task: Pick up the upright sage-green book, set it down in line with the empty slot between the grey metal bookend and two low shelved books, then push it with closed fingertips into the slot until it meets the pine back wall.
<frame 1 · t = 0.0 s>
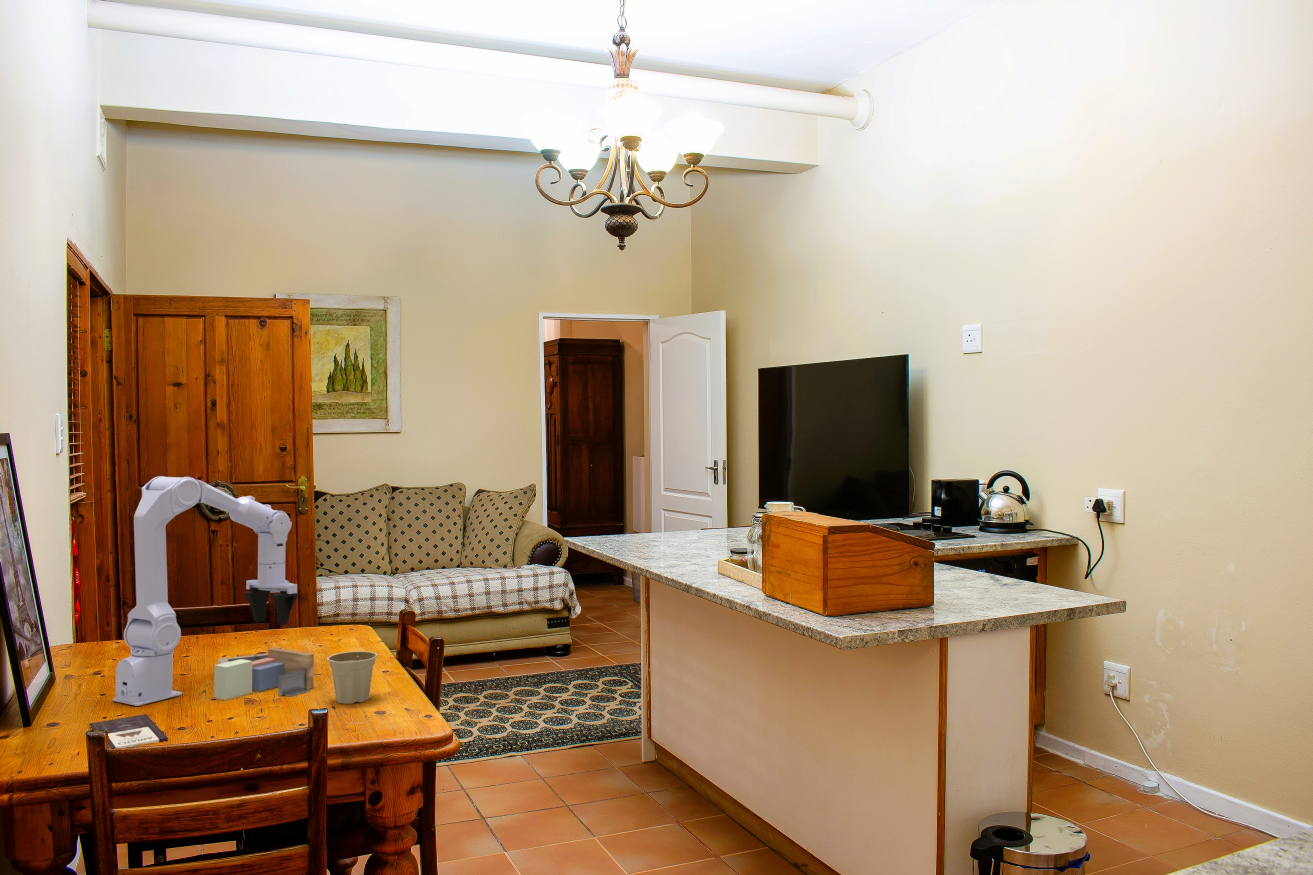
hand: (271, 623, 205), 10 cm above the table, tool pointing down, fingers open, 7 cm apart
book: (233, 695, 183), on the table
picture frame: (263, 673, 203), on the table
shelved books: (263, 686, 189), on the table
bookend: (292, 691, 185), on the table
flower pot: (352, 700, 180), on the table
chocolate bar: (127, 736, 158), on the table
shelf wall: (290, 684, 191), on the table
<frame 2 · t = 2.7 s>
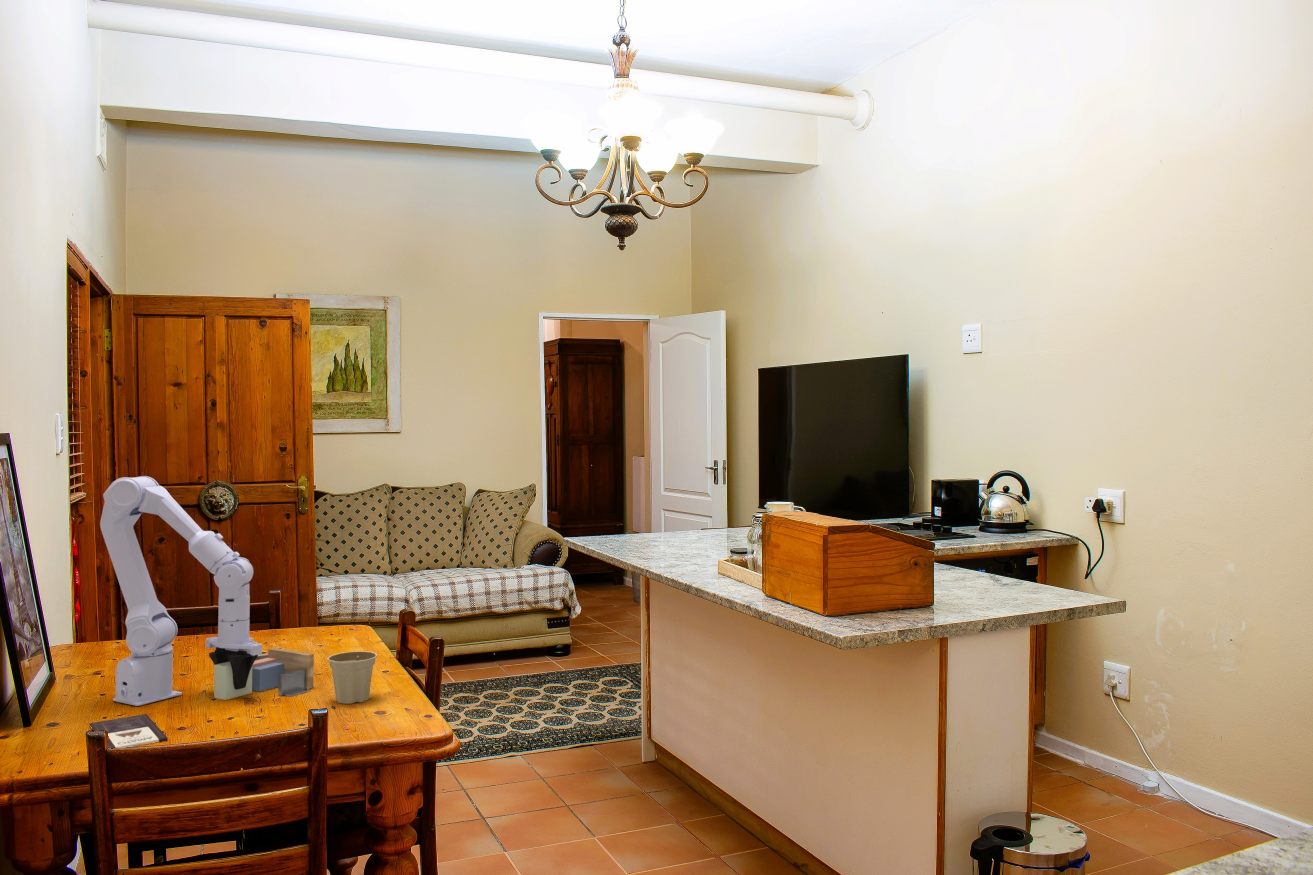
hand: (233, 686, 183), 2 cm above the table, tool pointing down, fingers closed on book, 3 cm apart
book: (233, 695, 183), on the table, touching gripper
everything else where it was.
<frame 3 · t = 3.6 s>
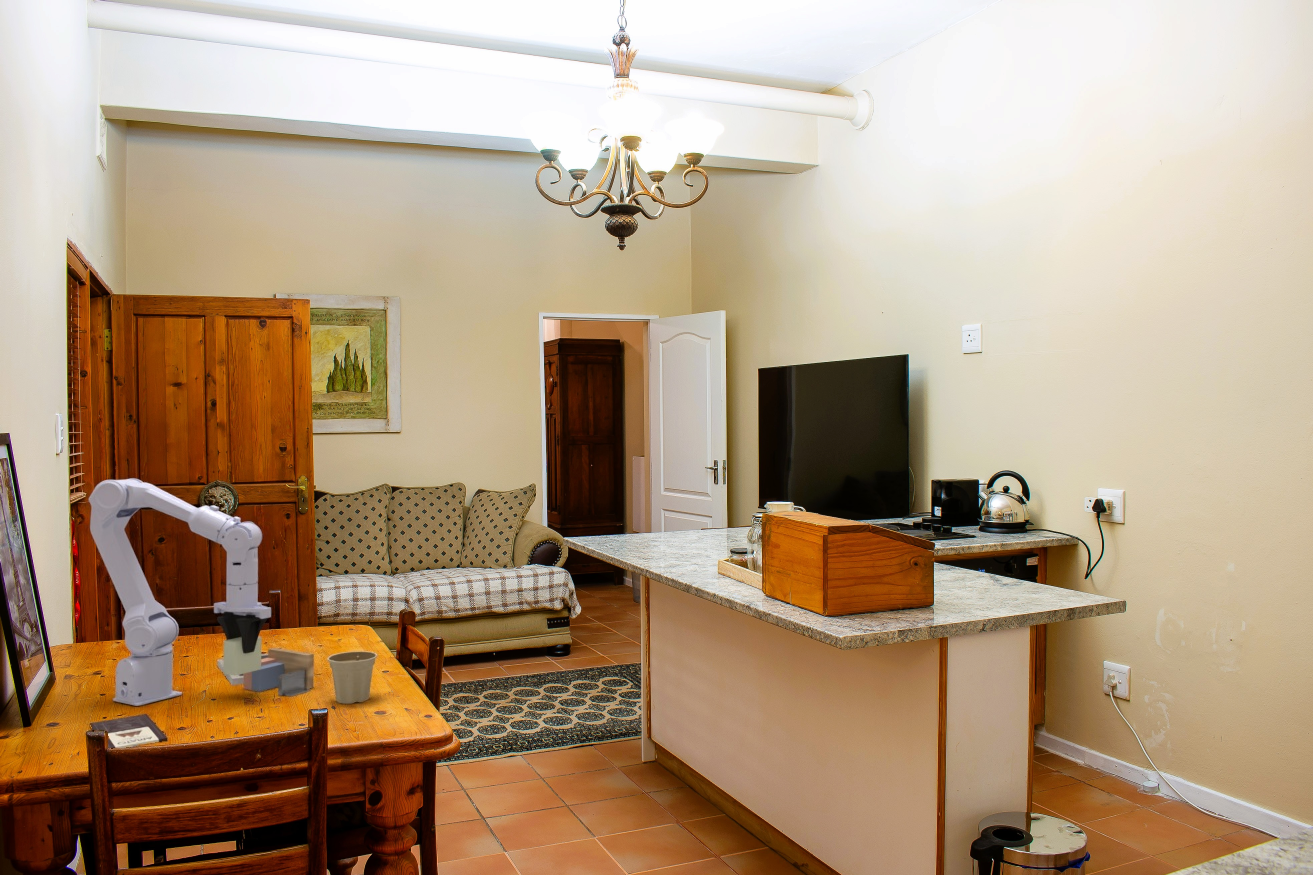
hand: (241, 651, 182), 9 cm above the table, tool pointing down, fingers closed on book, 3 cm apart
book: (242, 671, 182), point 5 cm above the table, touching gripper
everything else where it was.
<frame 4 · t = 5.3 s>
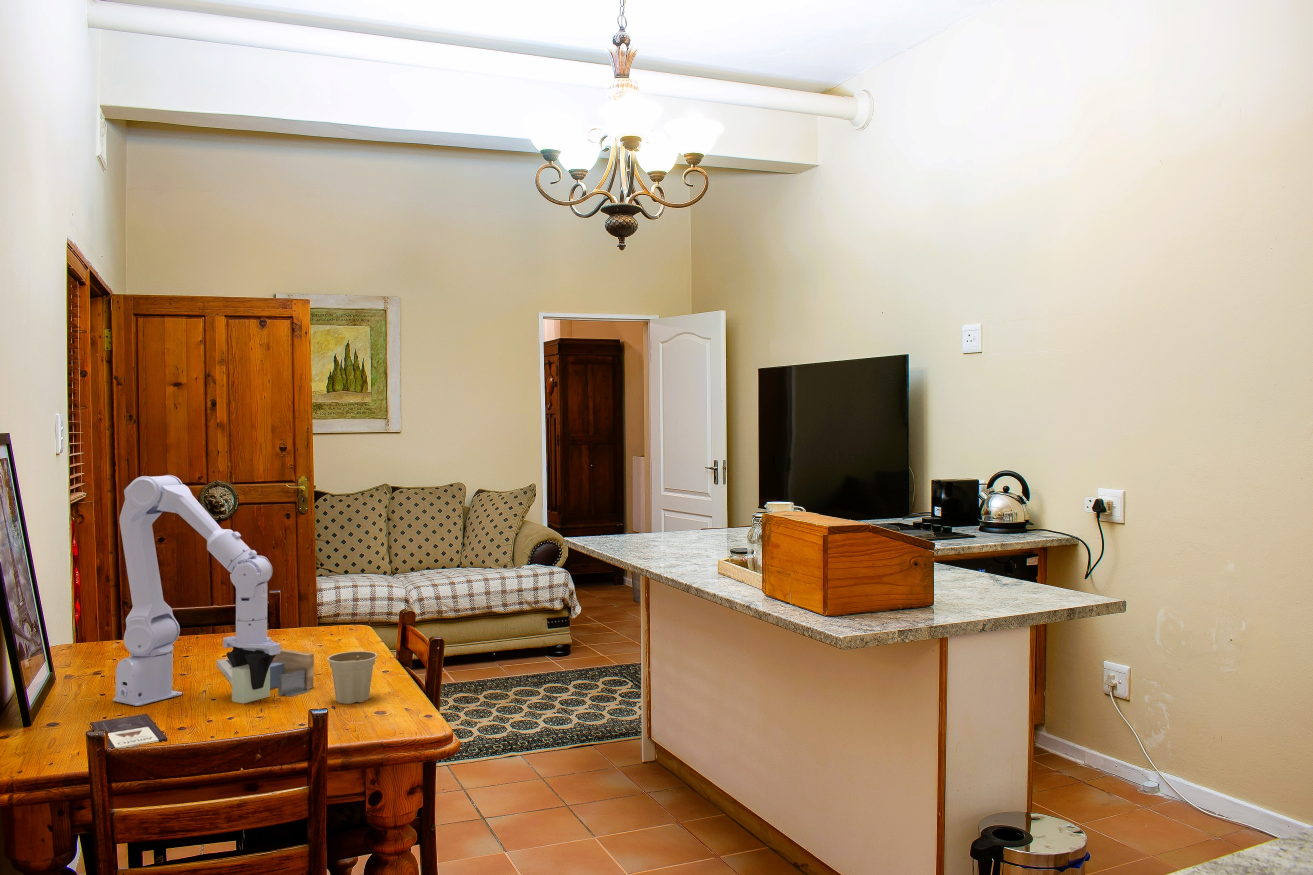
hand: (251, 687, 180), 2 cm above the table, tool pointing down, fingers closed on book, 3 cm apart
book: (251, 698, 180), on the table, touching gripper
everything else where it was.
when the fingers open (2 cm above the table, at t = 5.4 s): book stays where it is, on the table.
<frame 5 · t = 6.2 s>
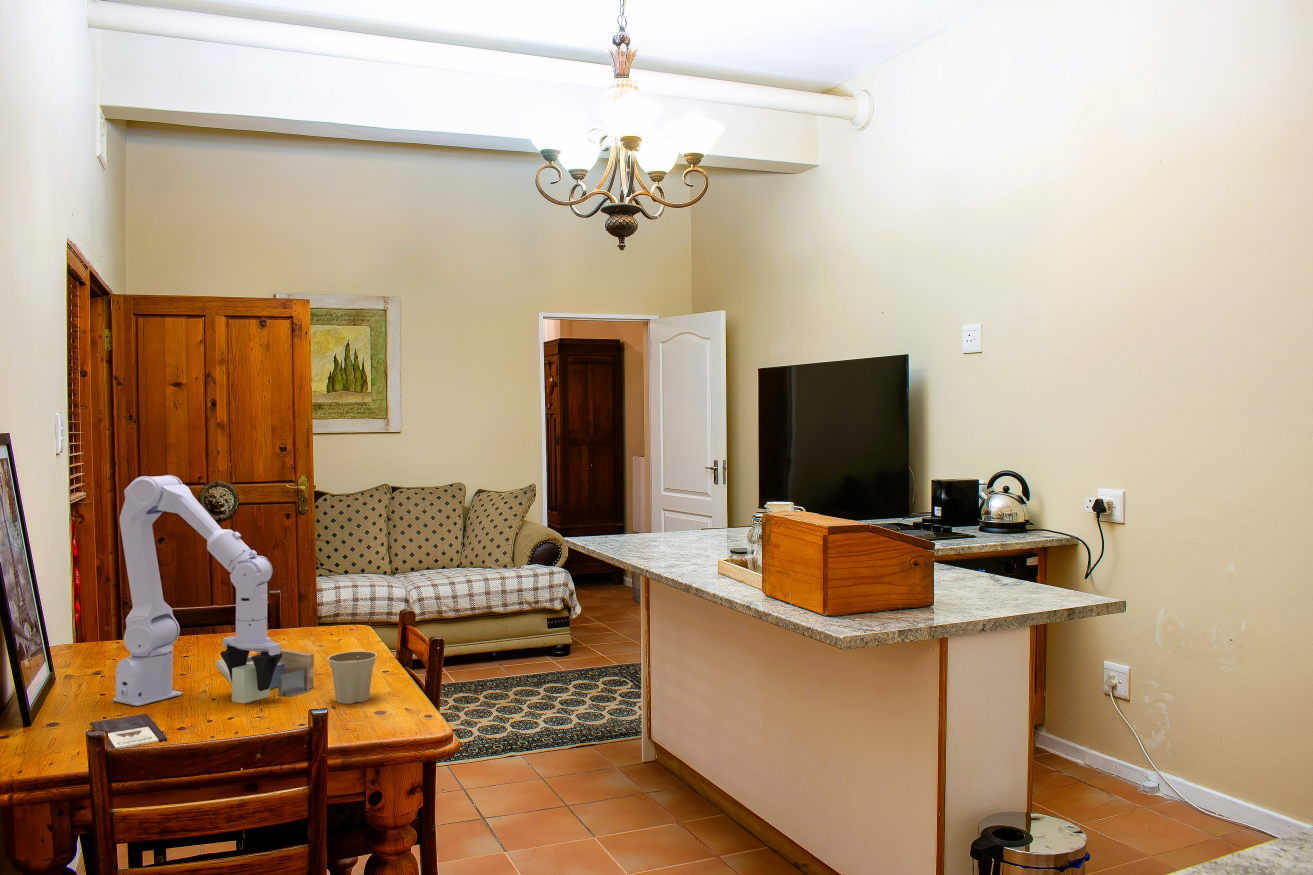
hand: (250, 687, 180), 2 cm above the table, tool pointing down, fingers open, 7 cm apart
book: (251, 698, 180), on the table
everything else where it was.
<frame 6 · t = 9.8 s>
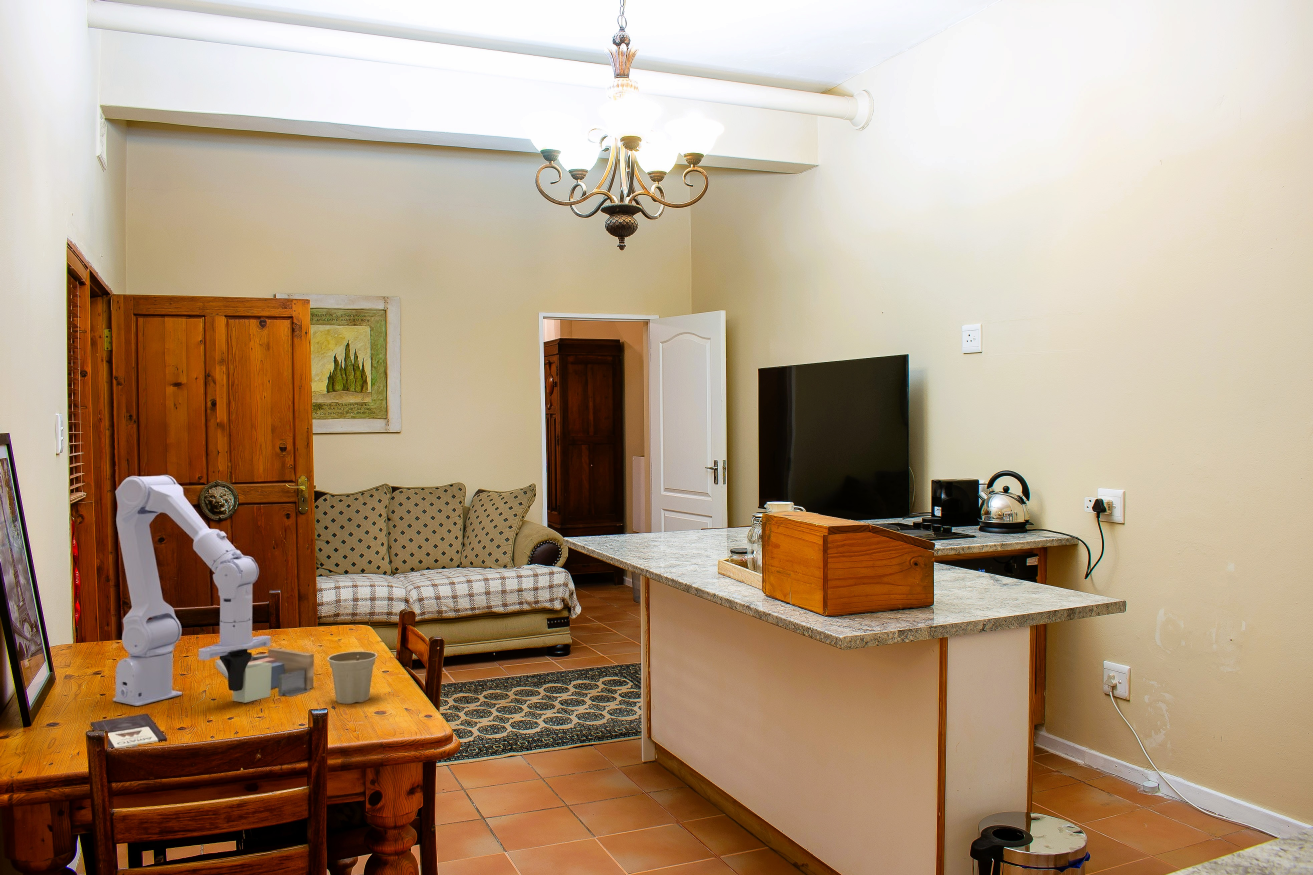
hand: (235, 689, 177), 3 cm above the table, tool pointing down, fingers closed, pressing on book
book: (251, 698, 180), on the table, touching gripper
everything else where it was.
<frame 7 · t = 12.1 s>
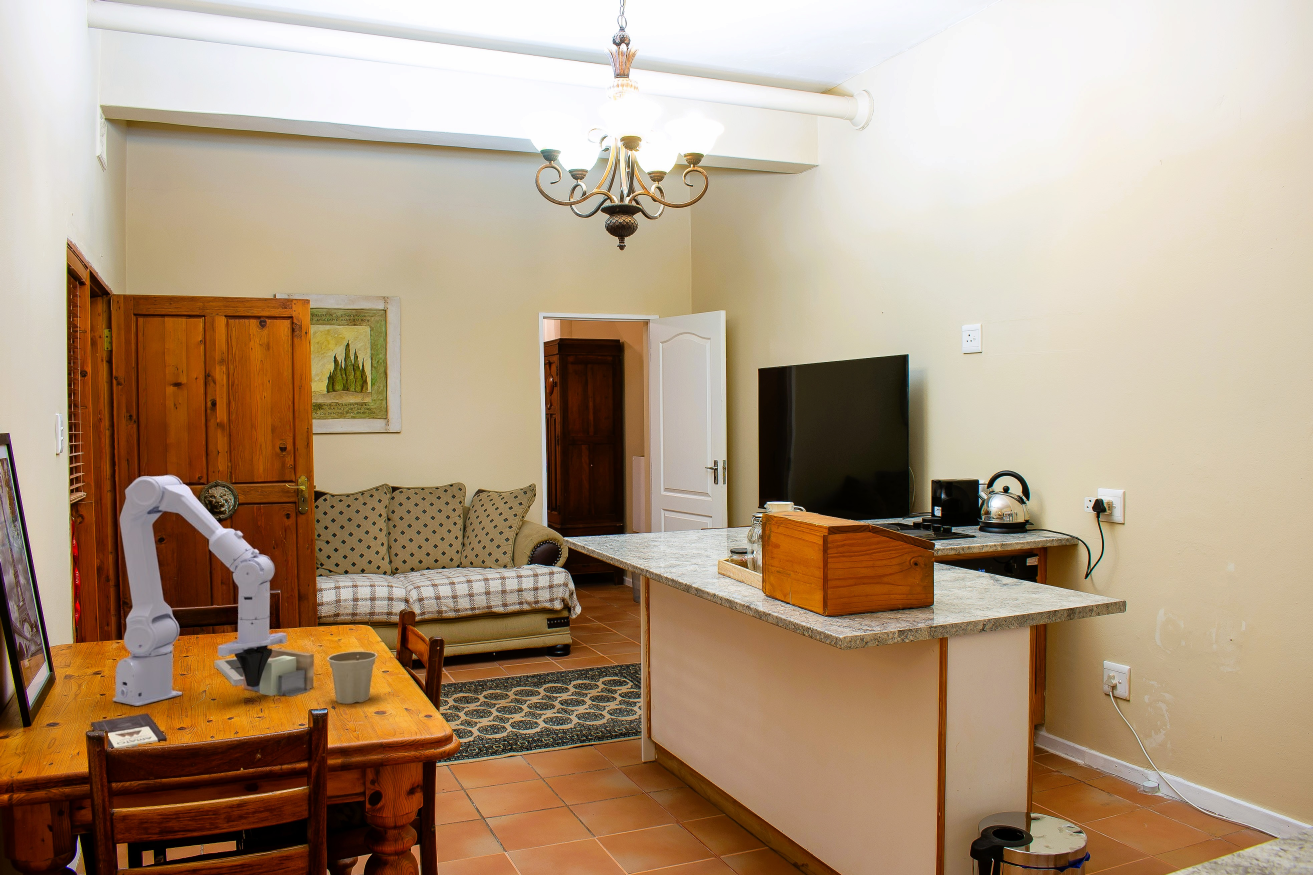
hand: (253, 685, 181), 2 cm above the table, tool pointing down, fingers closed
book: (278, 691, 186), on the table
everything else where it was.
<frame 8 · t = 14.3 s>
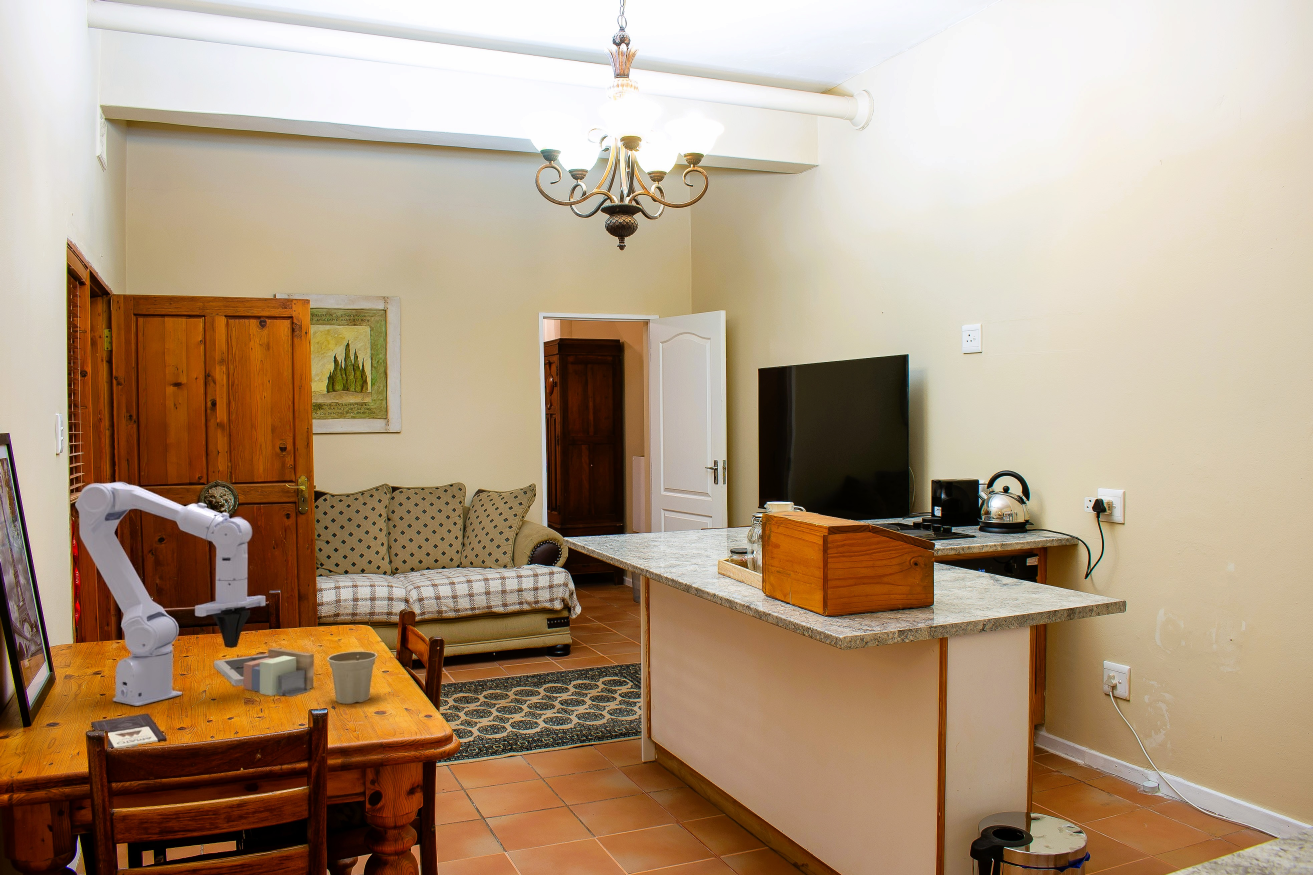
hand: (230, 646, 182), 10 cm above the table, tool pointing down, fingers closed
nothing on the table moved.
at the end: book 0.9 cm from the target spot, on the table; book tilted 0°; the gripper is holding nothing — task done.
